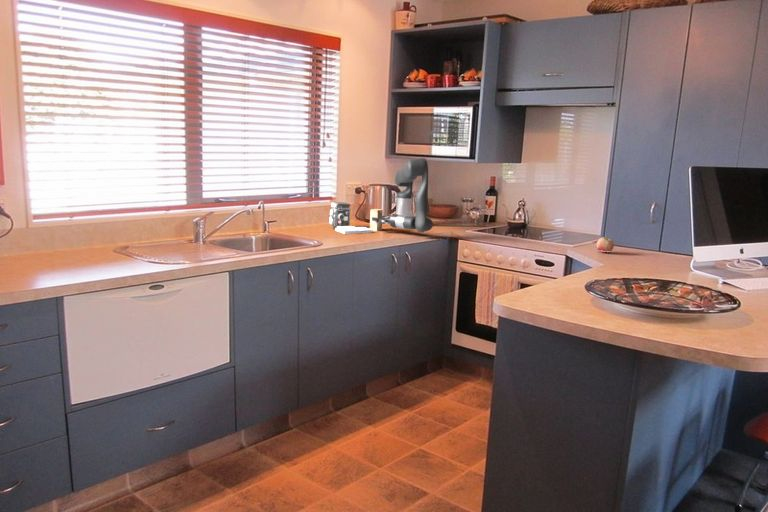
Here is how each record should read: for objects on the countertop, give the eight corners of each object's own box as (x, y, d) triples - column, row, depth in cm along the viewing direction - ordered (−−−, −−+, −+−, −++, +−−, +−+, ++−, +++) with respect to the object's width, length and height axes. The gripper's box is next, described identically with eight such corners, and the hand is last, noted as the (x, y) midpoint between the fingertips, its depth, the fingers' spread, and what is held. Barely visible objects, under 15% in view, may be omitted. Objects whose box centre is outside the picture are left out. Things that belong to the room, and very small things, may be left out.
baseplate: (363, 229, 356) (363, 225, 355) (373, 232, 346) (373, 228, 345) (335, 230, 347) (335, 226, 347) (344, 233, 337) (344, 229, 336)
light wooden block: (375, 229, 359) (375, 208, 357) (381, 230, 356) (382, 209, 354) (369, 230, 355) (370, 209, 353) (376, 231, 352) (377, 210, 350)
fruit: (606, 254, 309) (608, 239, 308) (592, 252, 316) (594, 236, 314) (615, 253, 314) (617, 238, 313) (602, 250, 320) (603, 235, 319)
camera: (327, 227, 358) (327, 201, 355) (344, 226, 362) (344, 201, 360) (333, 230, 349) (334, 203, 346) (350, 229, 353) (351, 203, 350)
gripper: (407, 213, 350) (384, 210, 359) (392, 215, 338) (369, 212, 348) (406, 226, 351) (383, 223, 360) (391, 229, 340) (368, 225, 349)
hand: (376, 218), depth 354 cm, fingers open, 8 cm apart
